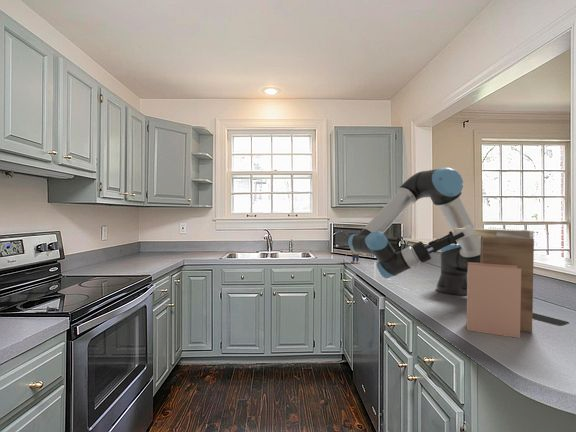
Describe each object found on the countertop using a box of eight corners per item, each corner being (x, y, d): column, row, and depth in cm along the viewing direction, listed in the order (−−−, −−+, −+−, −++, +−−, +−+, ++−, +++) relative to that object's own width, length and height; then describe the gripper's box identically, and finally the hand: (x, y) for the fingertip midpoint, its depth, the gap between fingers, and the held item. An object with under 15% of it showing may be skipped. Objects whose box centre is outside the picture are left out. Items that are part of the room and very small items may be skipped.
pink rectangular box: (466, 323, 111) (467, 262, 110) (515, 330, 104) (516, 265, 104) (467, 330, 104) (468, 265, 104) (519, 338, 98) (521, 268, 98)
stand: (479, 317, 118) (480, 228, 117) (526, 323, 111) (527, 230, 111) (481, 324, 110) (483, 229, 109) (532, 332, 103) (534, 231, 103)
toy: (365, 262, 245) (365, 239, 245) (365, 263, 239) (366, 240, 238) (345, 261, 248) (345, 239, 248) (345, 263, 241) (345, 240, 241)
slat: (455, 234, 121) (455, 228, 121) (522, 237, 109) (522, 230, 109) (453, 235, 118) (453, 228, 118) (522, 238, 106) (522, 230, 106)
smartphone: (559, 325, 109) (512, 312, 123) (559, 327, 109) (512, 314, 123) (570, 322, 112) (523, 310, 126) (570, 324, 112) (523, 311, 126)
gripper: (424, 259, 133) (475, 235, 125) (419, 268, 111) (481, 240, 102) (414, 243, 135) (465, 218, 126) (407, 248, 113) (468, 219, 104)
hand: (472, 228), depth 114 cm, fingers open, 13 cm apart
